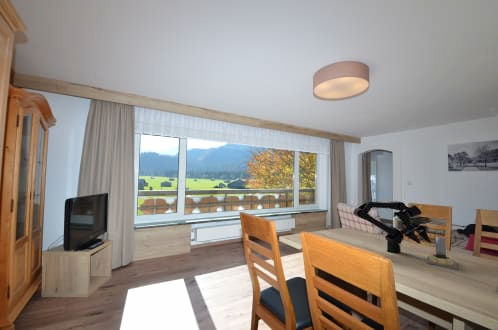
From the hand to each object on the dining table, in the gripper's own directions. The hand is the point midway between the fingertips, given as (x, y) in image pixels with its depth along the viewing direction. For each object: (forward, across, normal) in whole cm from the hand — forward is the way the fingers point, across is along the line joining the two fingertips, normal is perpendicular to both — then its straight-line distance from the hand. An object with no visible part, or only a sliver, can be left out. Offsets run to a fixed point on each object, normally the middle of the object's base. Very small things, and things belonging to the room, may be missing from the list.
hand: (424, 242), depth 128 cm
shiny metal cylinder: (+11, 0, -1) cm, 11 cm away
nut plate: (+12, 0, 0) cm, 12 cm away
